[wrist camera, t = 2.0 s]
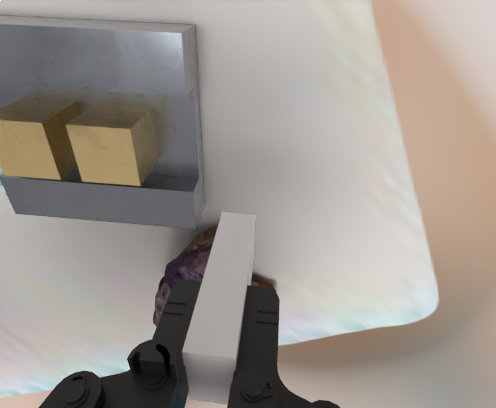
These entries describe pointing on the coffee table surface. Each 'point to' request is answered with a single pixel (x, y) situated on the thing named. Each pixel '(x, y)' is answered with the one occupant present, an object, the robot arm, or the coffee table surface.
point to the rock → (190, 270)
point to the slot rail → (111, 92)
